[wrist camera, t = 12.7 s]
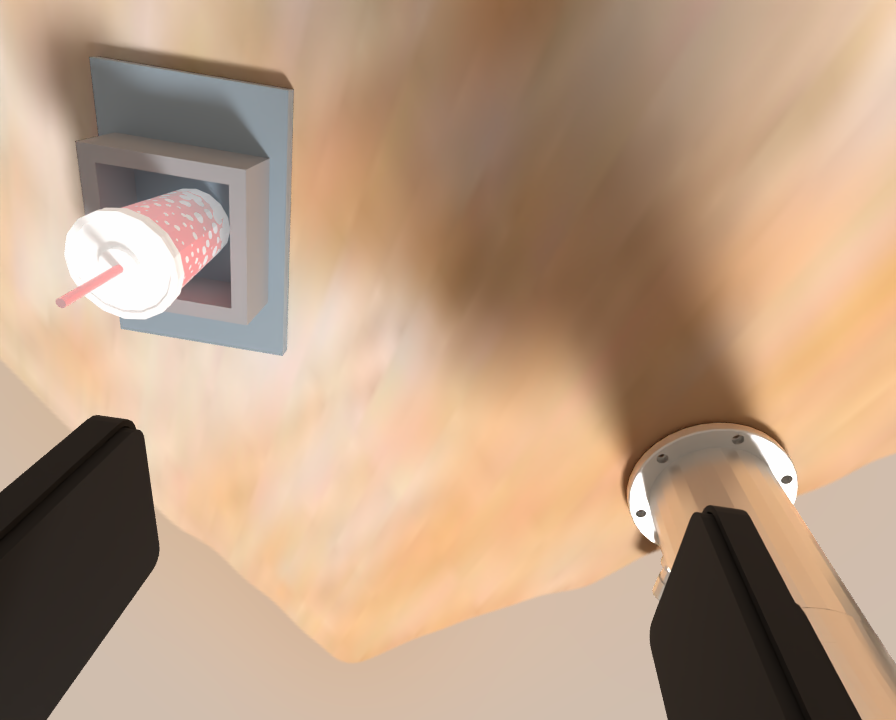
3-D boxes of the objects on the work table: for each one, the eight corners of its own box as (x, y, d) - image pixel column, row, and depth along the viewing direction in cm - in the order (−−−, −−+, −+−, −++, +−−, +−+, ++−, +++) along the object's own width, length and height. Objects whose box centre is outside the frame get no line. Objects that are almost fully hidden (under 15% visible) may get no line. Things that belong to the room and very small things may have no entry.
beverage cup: (196, 156, 38) (50, 211, 26) (260, 237, 40) (154, 323, 28) (131, 209, 40) (-34, 282, 28) (195, 283, 42) (69, 382, 30)
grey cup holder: (286, 349, 45) (263, 382, 41) (128, 323, 45) (88, 353, 41) (293, 89, 37) (265, 95, 32) (99, 56, 37) (44, 58, 32)
